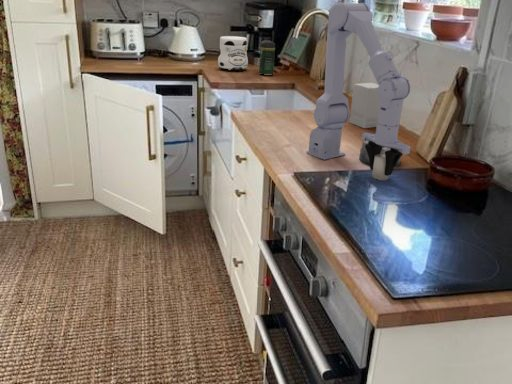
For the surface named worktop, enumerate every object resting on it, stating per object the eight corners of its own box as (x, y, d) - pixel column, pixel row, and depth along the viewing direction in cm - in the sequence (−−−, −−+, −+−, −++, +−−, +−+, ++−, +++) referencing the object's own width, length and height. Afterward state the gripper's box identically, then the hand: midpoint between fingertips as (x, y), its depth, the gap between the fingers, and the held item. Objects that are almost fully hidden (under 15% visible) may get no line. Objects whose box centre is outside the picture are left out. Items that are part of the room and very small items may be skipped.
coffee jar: (274, 76, 272) (276, 41, 264) (260, 76, 271) (262, 41, 263) (271, 73, 281) (273, 39, 273) (257, 73, 279) (259, 39, 272)
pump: (381, 181, 133) (384, 160, 130) (368, 176, 136) (371, 155, 133) (394, 177, 136) (398, 156, 134) (381, 172, 139) (385, 152, 137)
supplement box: (382, 126, 185) (388, 86, 179) (364, 128, 181) (369, 88, 175) (366, 120, 192) (371, 82, 186) (348, 122, 188) (353, 83, 182)
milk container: (237, 73, 275) (238, 40, 268) (211, 69, 283) (212, 37, 276) (253, 69, 289) (254, 38, 282) (228, 66, 297) (229, 35, 290)
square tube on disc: (382, 170, 141) (385, 152, 138) (351, 158, 149) (353, 141, 147) (408, 163, 148) (411, 145, 145) (376, 152, 156) (378, 135, 154)
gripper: (420, 128, 127) (411, 177, 132) (376, 115, 137) (369, 161, 142) (403, 132, 123) (395, 182, 128) (359, 118, 133) (353, 166, 138)
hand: (380, 171), depth 135 cm, fingers closed on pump, 4 cm apart
